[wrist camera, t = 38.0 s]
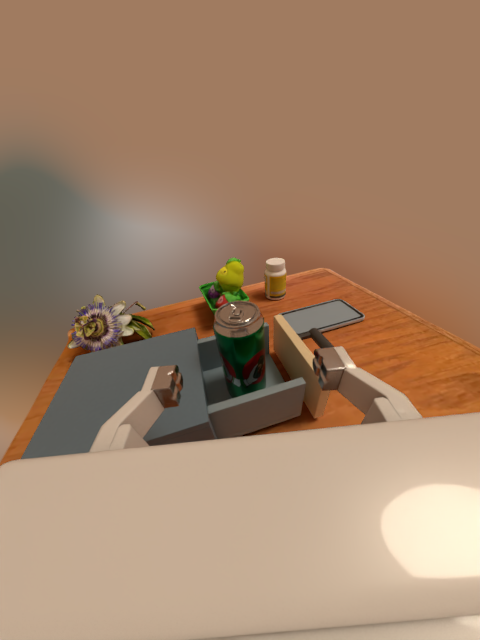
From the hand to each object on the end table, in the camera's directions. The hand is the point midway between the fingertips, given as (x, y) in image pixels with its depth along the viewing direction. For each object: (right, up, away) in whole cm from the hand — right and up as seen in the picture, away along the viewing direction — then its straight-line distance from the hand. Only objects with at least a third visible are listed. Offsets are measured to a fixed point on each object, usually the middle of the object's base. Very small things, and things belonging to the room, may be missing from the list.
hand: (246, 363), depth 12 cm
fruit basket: (-3, +4, +32) cm, 33 cm away
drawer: (+3, -6, +15) cm, 17 cm away
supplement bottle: (+8, +8, +36) cm, 38 cm away
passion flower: (-24, -2, +27) cm, 36 cm away
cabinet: (-11, -11, +14) cm, 20 cm away
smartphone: (+15, +3, +27) cm, 31 cm away
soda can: (+1, -6, +14) cm, 16 cm away
